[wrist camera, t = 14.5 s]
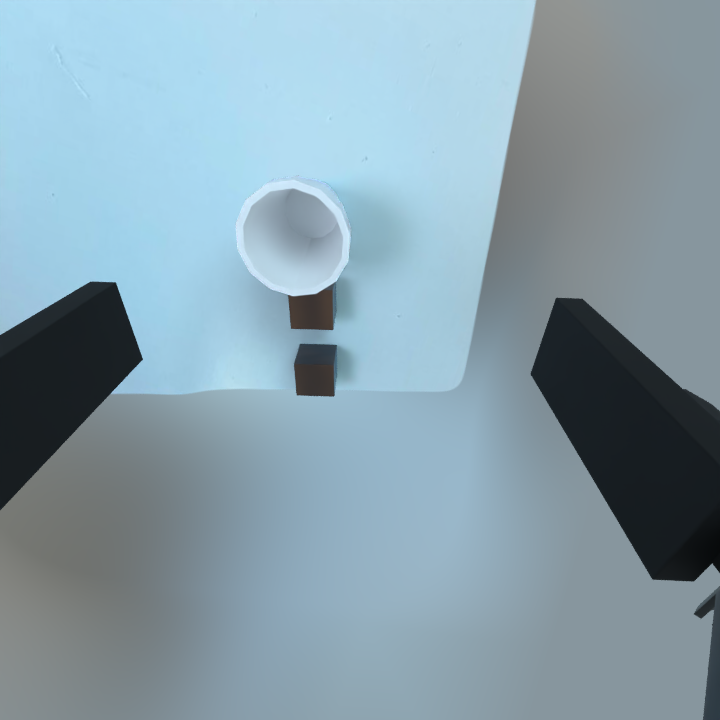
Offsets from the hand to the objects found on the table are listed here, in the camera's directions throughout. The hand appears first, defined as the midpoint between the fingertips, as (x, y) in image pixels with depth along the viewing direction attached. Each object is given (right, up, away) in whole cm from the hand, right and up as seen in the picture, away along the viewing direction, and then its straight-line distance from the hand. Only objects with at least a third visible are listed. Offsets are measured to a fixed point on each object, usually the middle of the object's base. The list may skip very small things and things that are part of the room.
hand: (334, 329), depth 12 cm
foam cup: (-4, +16, +30) cm, 34 cm away
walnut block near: (-5, +7, +35) cm, 37 cm away
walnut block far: (-5, -1, +41) cm, 41 cm away
